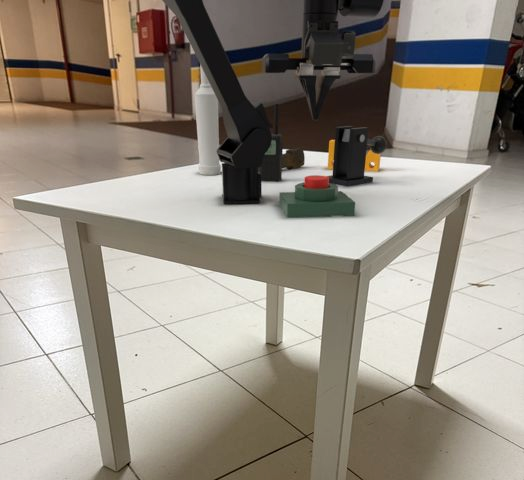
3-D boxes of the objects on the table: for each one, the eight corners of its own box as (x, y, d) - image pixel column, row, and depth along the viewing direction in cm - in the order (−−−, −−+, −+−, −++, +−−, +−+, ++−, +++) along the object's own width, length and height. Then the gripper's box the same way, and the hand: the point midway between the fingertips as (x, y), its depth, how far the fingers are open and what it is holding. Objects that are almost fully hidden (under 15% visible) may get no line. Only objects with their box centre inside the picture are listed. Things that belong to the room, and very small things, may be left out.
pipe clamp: (379, 169, 121) (382, 140, 118) (377, 171, 118) (380, 142, 114) (330, 166, 124) (332, 139, 121) (327, 169, 121) (329, 140, 117)
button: (306, 191, 80) (307, 179, 79) (302, 186, 83) (302, 175, 82) (331, 190, 80) (331, 179, 79) (325, 185, 84) (326, 175, 83)
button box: (287, 217, 79) (287, 192, 77) (279, 205, 87) (279, 181, 85) (354, 216, 80) (356, 190, 78) (340, 203, 88) (342, 180, 86)
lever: (374, 154, 110) (379, 137, 109) (387, 156, 107) (392, 138, 106) (338, 144, 102) (342, 125, 101) (351, 146, 100) (355, 126, 98)
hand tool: (257, 177, 111) (257, 155, 109) (245, 175, 114) (245, 153, 111) (312, 168, 123) (313, 148, 121) (300, 166, 125) (300, 146, 123)
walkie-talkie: (258, 181, 106) (258, 103, 99) (262, 178, 109) (262, 103, 102) (280, 182, 105) (281, 104, 98) (283, 179, 108) (285, 103, 101)
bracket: (348, 178, 110) (352, 125, 105) (372, 183, 105) (378, 127, 100) (322, 182, 106) (325, 127, 101) (346, 187, 101) (351, 129, 96)
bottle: (222, 171, 118) (218, 48, 106) (218, 175, 113) (213, 47, 101) (201, 171, 118) (194, 48, 106) (196, 175, 114) (189, 47, 102)
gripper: (269, 8, 73) (269, 124, 81) (391, 10, 75) (379, 123, 83) (261, 16, 83) (261, 119, 90) (369, 18, 85) (360, 118, 92)
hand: (315, 119), depth 89 cm, fingers closed
